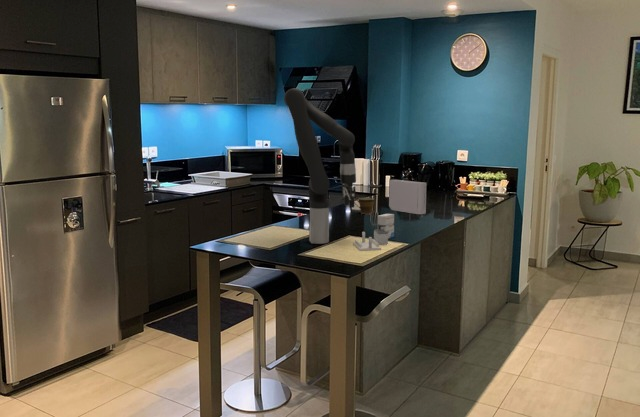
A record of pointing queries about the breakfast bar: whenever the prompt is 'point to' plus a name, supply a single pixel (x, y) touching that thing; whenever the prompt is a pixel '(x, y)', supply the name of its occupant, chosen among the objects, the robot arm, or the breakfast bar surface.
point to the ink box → (386, 223)
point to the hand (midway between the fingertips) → (349, 206)
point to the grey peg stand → (366, 244)
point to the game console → (407, 196)
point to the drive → (381, 236)
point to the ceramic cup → (365, 205)
